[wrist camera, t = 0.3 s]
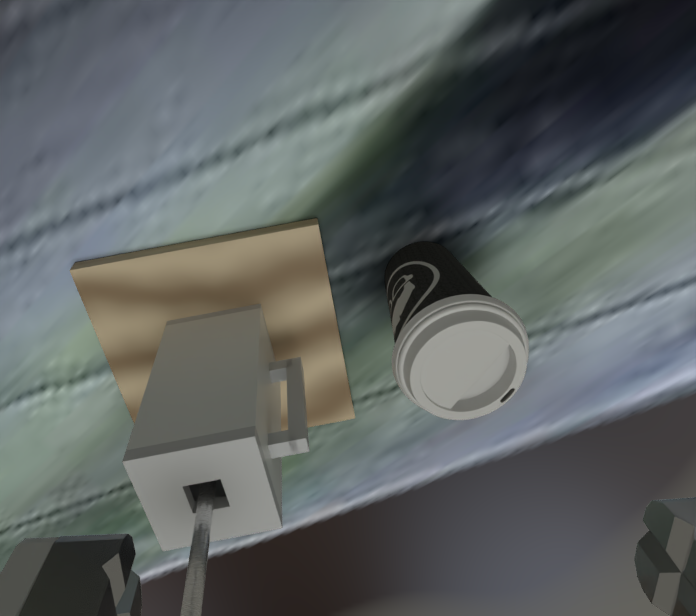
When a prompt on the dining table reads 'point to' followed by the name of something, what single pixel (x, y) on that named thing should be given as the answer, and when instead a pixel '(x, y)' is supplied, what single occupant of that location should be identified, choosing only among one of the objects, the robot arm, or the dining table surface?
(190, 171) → the dining table surface
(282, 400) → the board
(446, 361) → the coffee cup
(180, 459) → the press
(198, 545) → the plunger
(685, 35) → the dining table surface
